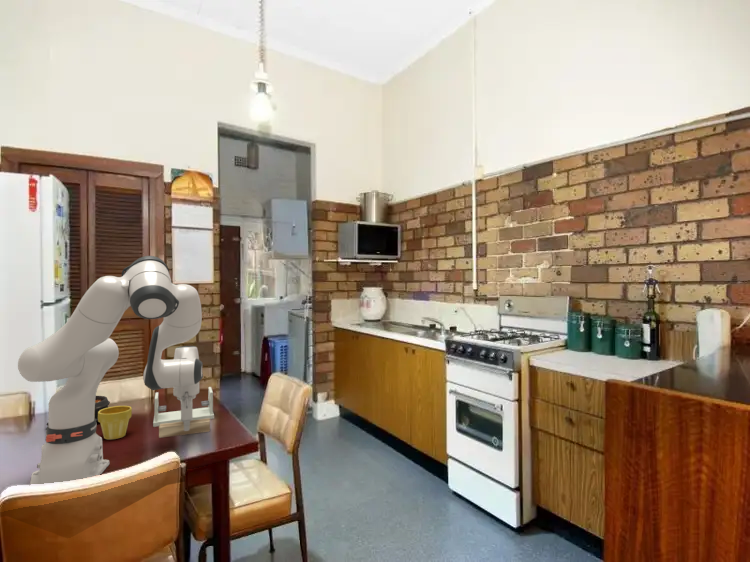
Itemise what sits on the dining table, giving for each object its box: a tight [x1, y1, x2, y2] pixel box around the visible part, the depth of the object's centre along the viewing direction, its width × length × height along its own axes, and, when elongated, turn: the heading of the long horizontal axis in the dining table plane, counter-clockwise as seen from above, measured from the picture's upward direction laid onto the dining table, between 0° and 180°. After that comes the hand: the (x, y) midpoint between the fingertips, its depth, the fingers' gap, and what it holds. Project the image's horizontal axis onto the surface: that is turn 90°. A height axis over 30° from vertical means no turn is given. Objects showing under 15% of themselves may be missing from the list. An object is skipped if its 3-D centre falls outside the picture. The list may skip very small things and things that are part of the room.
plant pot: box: [98, 405, 133, 441], centre depth 148 cm, size 10×10×10 cm
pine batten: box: [158, 418, 211, 439], centre depth 152 cm, size 4×17×4 cm, turn 113°
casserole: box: [46, 395, 111, 426], centre depth 164 cm, size 25×19×8 cm
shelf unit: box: [152, 386, 215, 428], centre depth 168 cm, size 12×22×10 cm, turn 116°
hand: (186, 426), depth 152 cm, fingers open, 8 cm apart
